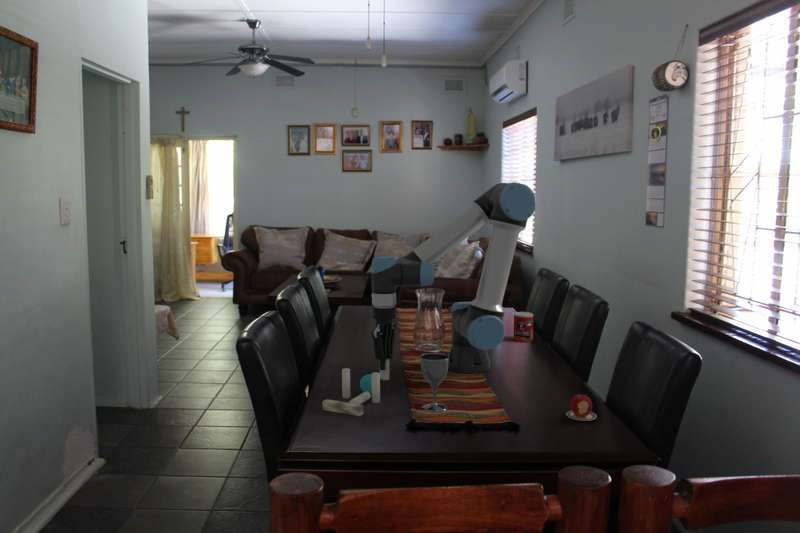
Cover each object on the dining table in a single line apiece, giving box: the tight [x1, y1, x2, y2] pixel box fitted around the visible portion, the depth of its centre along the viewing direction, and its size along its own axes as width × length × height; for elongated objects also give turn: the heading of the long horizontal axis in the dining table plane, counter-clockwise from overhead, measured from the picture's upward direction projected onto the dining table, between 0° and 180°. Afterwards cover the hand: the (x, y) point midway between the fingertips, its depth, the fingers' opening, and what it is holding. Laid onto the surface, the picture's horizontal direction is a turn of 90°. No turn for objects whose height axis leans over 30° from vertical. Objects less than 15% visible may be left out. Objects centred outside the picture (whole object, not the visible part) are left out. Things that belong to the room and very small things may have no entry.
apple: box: [565, 393, 597, 422], centre depth 177 cm, size 8×8×6 cm
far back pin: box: [341, 367, 351, 399], centre depth 194 cm, size 2×2×8 cm
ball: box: [359, 373, 372, 395], centre depth 197 cm, size 6×6×6 cm
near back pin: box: [371, 371, 381, 404], centre depth 190 cm, size 2×2×8 cm
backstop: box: [322, 399, 364, 417], centre depth 182 cm, size 12×2×2 cm, turn 65°
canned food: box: [513, 311, 534, 343], centre depth 264 cm, size 8×8×11 cm
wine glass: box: [420, 352, 449, 413], centre depth 184 cm, size 8×8×15 cm
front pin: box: [348, 391, 372, 405], centre depth 189 cm, size 2×2×8 cm
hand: (384, 379), depth 206 cm, fingers closed
